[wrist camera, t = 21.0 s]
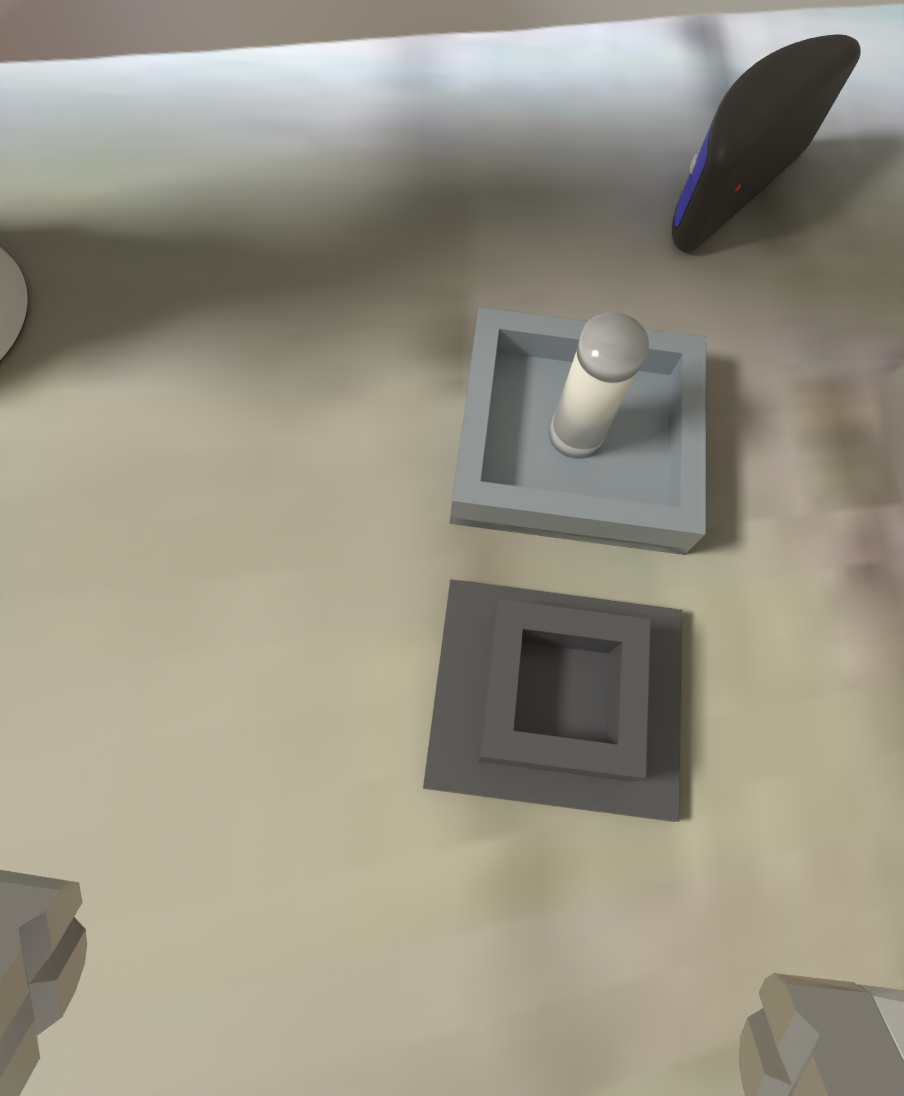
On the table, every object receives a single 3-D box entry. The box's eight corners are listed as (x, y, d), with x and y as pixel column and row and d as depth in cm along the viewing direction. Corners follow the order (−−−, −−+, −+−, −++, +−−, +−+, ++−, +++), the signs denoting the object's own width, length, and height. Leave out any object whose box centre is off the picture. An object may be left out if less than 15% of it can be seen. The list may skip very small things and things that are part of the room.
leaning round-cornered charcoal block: (761, 123, 61) (821, 3, 52) (807, 154, 60) (876, 37, 51) (636, 229, 56) (678, 118, 47) (683, 265, 55) (735, 158, 46)
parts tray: (449, 523, 47) (452, 500, 44) (474, 339, 52) (478, 306, 49) (685, 554, 47) (705, 534, 44) (687, 367, 52) (705, 337, 49)
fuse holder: (423, 788, 41) (424, 785, 37) (449, 584, 45) (453, 562, 42) (672, 821, 41) (698, 821, 38) (676, 614, 45) (699, 595, 42)
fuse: (546, 454, 48) (579, 364, 38) (551, 406, 49) (583, 308, 40) (602, 462, 48) (648, 374, 38) (605, 413, 49) (650, 317, 40)
